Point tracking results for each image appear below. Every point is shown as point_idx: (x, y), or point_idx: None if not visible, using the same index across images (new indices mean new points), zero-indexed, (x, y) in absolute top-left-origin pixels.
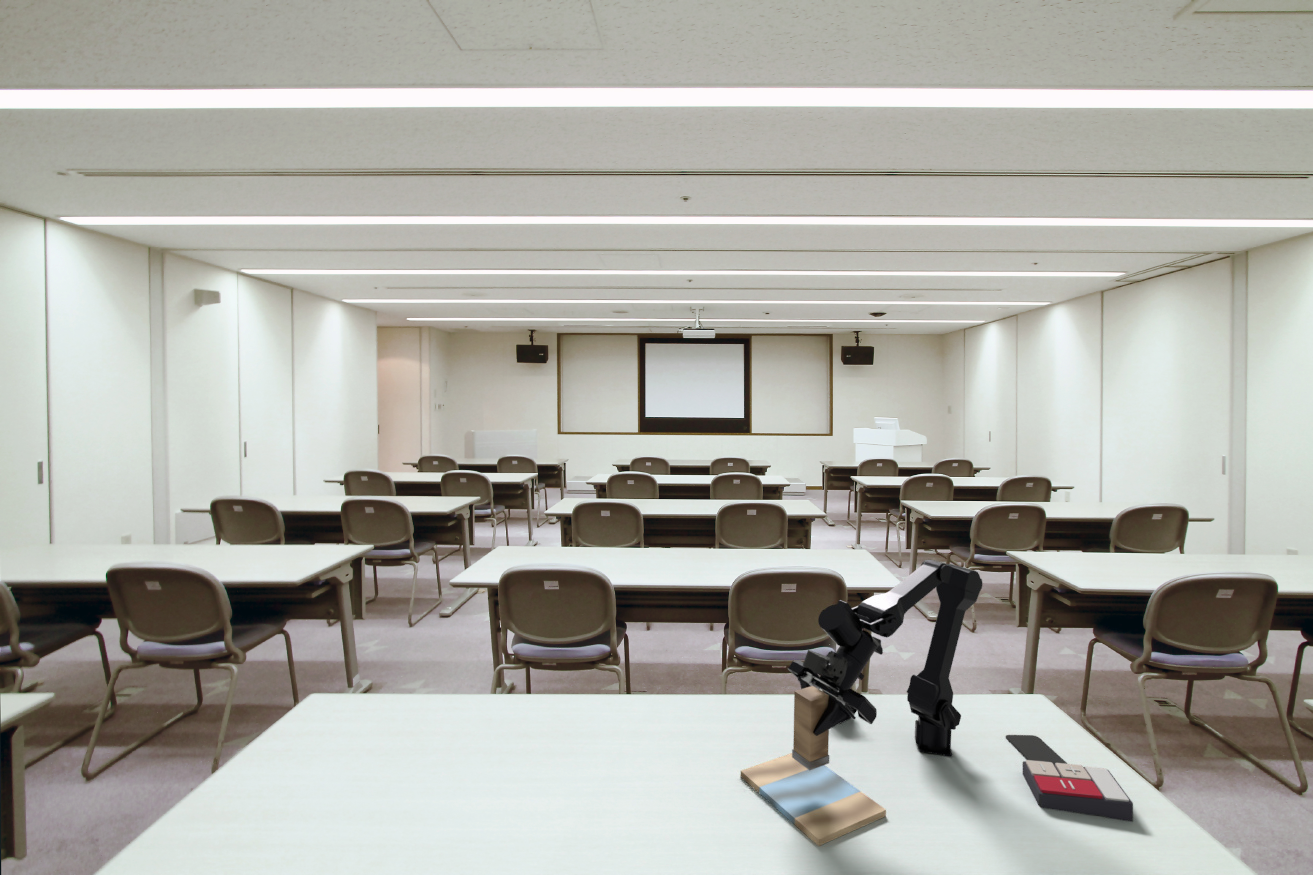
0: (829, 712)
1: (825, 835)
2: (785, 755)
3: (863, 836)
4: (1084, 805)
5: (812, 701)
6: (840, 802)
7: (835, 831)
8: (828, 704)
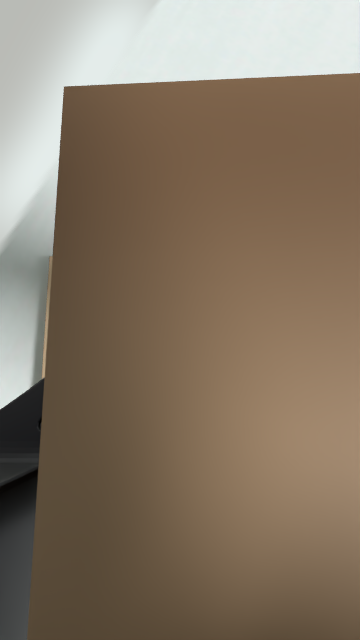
0: (13, 416)
1: (50, 280)
2: None
3: (22, 380)
4: None
5: (69, 134)
6: None
7: (47, 311)
8: (24, 470)
